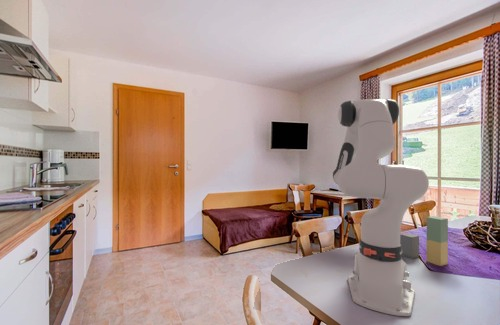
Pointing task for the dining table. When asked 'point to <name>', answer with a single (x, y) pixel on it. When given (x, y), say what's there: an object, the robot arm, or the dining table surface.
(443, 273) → the dining table surface
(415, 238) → the charcoal brick
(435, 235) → the sage green brick
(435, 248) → the mustard brick
